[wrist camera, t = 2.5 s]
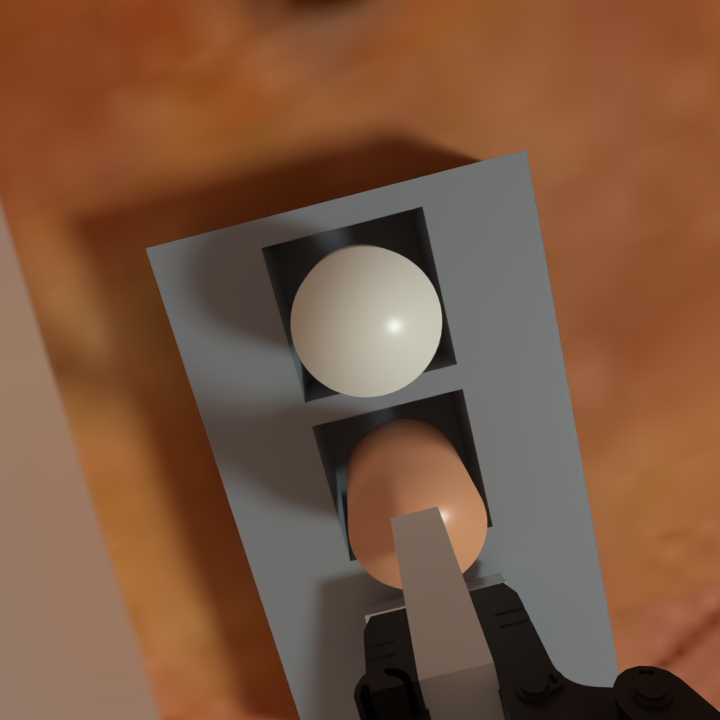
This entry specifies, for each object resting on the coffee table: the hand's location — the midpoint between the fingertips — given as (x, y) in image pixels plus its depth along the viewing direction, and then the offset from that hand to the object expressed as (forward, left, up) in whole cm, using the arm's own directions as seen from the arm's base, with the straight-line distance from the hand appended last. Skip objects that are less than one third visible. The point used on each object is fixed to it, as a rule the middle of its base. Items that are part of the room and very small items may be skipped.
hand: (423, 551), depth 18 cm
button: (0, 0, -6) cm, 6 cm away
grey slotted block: (+2, 0, -10) cm, 10 cm away
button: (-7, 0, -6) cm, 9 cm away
